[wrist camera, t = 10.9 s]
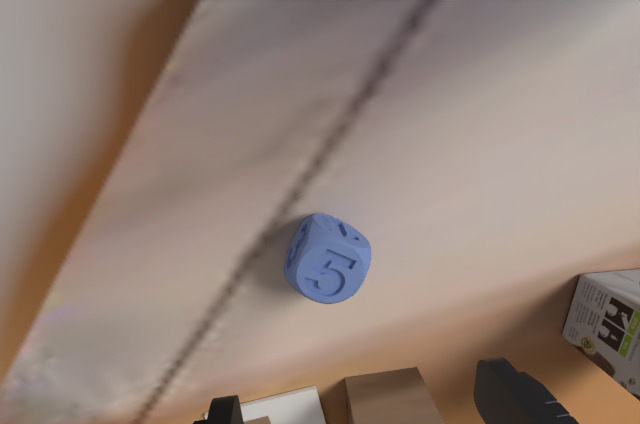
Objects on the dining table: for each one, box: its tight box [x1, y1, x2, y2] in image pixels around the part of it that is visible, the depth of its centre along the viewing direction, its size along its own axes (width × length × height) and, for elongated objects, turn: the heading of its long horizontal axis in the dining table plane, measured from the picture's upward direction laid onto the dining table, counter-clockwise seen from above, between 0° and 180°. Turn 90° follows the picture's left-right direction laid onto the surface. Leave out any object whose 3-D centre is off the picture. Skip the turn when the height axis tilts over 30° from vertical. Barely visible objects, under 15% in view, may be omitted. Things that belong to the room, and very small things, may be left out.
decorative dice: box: [284, 213, 371, 304], centre depth 19 cm, size 4×4×4 cm
